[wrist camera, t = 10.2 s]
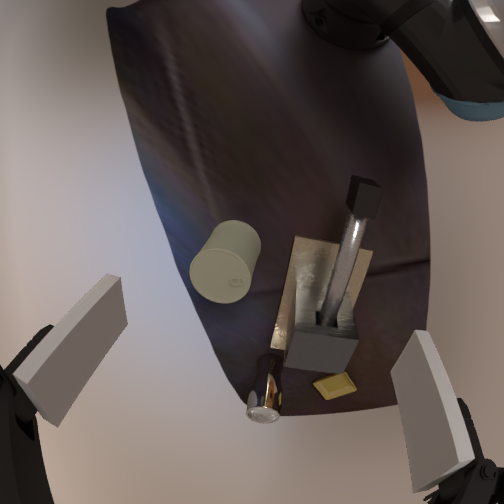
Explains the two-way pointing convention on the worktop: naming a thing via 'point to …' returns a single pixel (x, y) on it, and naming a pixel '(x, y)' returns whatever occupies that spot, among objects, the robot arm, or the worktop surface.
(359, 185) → the shaft
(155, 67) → the worktop surface
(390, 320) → the worktop surface
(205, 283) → the can
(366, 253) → the block
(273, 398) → the beer glass
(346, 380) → the saucer
